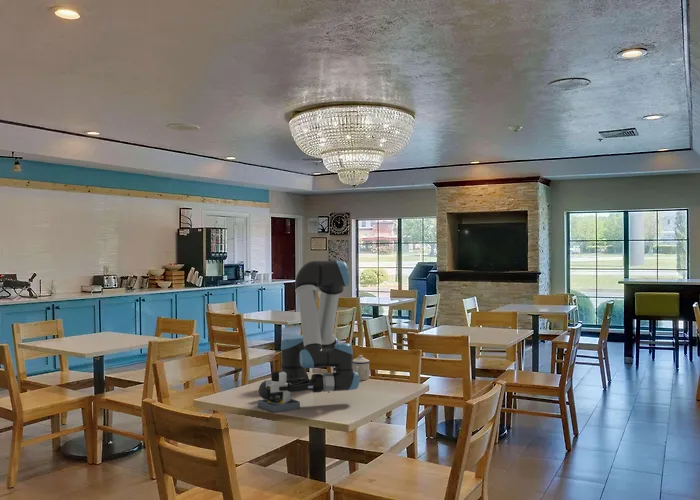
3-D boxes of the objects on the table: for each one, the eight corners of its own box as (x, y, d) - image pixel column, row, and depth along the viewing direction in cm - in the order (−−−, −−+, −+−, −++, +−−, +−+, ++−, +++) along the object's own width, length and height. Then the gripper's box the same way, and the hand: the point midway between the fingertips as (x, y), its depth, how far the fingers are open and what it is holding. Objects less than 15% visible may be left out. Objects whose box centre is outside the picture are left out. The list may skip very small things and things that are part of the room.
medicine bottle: (266, 403, 243) (266, 372, 243) (275, 399, 250) (275, 370, 250) (282, 404, 240) (282, 374, 241) (290, 400, 247) (290, 371, 247)
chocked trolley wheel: (258, 400, 258) (258, 381, 258) (280, 396, 265) (280, 378, 265) (262, 401, 256) (262, 382, 256) (284, 397, 262) (284, 379, 262)
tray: (258, 406, 246) (258, 400, 246) (283, 402, 254) (283, 396, 254) (273, 412, 237) (273, 406, 237) (299, 408, 244) (299, 401, 244)
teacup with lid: (354, 376, 310) (354, 353, 310) (371, 377, 307) (371, 354, 308) (347, 381, 298) (347, 357, 299) (365, 382, 296) (365, 358, 296)
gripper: (329, 397, 240) (273, 401, 233) (315, 386, 261) (263, 390, 254) (329, 378, 240) (273, 382, 233) (315, 369, 261) (263, 372, 255)
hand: (268, 386), depth 244 cm, fingers closed on medicine bottle, 10 cm apart
